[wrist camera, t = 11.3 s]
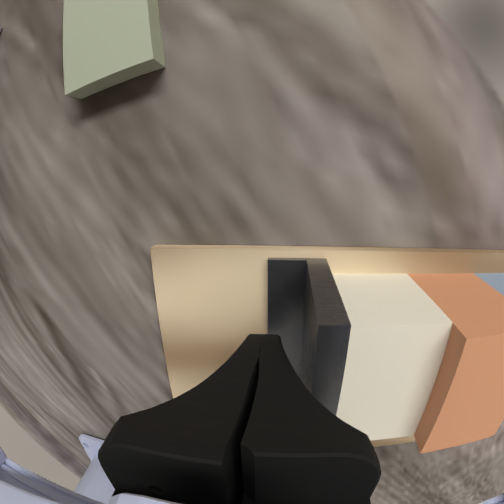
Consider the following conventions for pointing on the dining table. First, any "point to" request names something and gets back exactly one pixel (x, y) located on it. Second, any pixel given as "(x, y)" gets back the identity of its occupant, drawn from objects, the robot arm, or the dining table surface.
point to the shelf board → (263, 295)
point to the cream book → (389, 353)
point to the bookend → (310, 323)
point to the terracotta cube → (465, 363)
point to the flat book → (109, 43)
